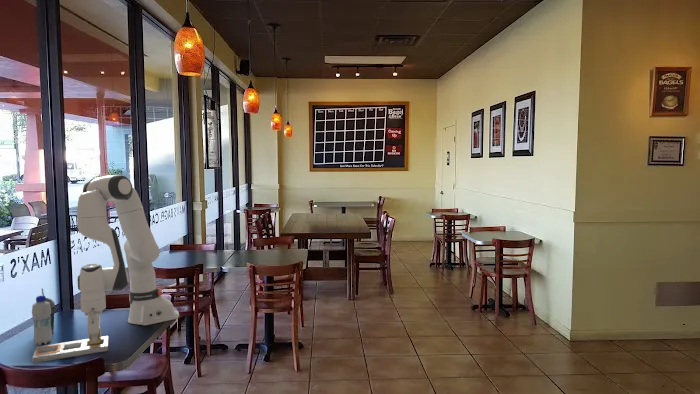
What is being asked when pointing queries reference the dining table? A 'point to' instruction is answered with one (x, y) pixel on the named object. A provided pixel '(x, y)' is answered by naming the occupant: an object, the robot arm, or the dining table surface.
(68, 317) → the dining table surface
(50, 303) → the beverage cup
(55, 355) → the white slotted tray
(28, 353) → the dining table surface
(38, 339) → the bottle
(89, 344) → the brass peg
